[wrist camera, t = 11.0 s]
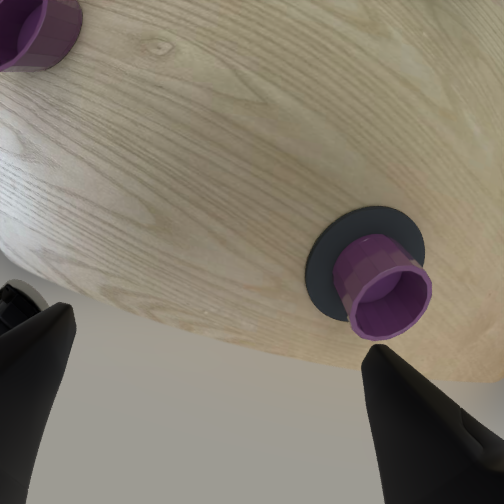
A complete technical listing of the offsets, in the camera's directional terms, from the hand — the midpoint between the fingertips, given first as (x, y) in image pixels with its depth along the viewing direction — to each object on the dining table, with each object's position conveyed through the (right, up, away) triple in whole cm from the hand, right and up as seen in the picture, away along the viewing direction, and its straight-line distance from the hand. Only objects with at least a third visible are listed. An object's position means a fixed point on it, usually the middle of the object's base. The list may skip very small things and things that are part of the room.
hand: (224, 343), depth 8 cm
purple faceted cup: (-13, +18, +4) cm, 22 cm away
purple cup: (+9, +1, +13) cm, 16 cm away
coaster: (+10, +1, +14) cm, 17 cm away
